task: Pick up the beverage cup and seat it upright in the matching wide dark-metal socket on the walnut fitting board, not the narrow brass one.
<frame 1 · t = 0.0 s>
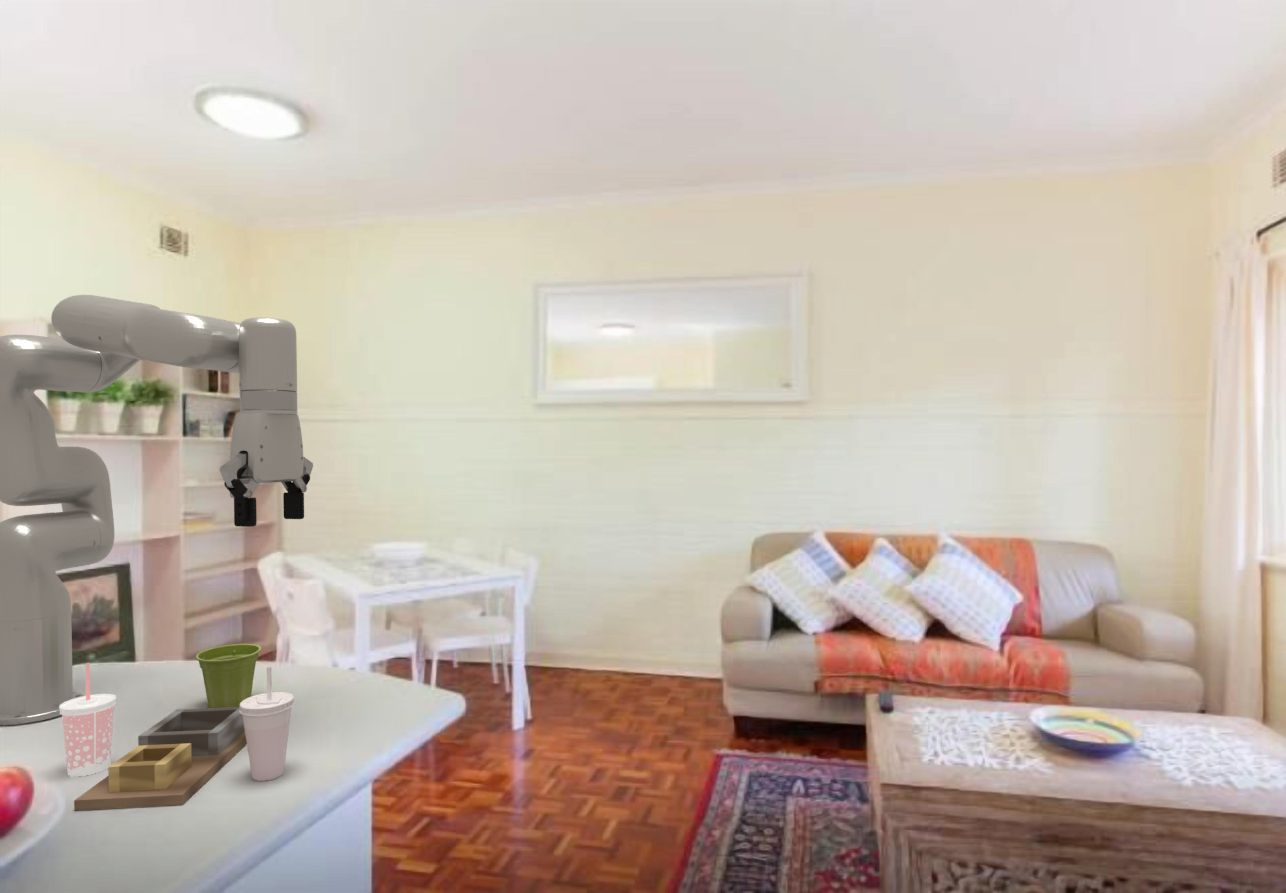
hand: (270, 522, 110), 31 cm above the table, tool pointing down, fingers open, 9 cm apart
plant pot: (229, 705, 125), on the table
beverage cup: (89, 770, 100), on the table
fitting board: (176, 767, 100), on the table
smoothie: (268, 775, 98), on the table
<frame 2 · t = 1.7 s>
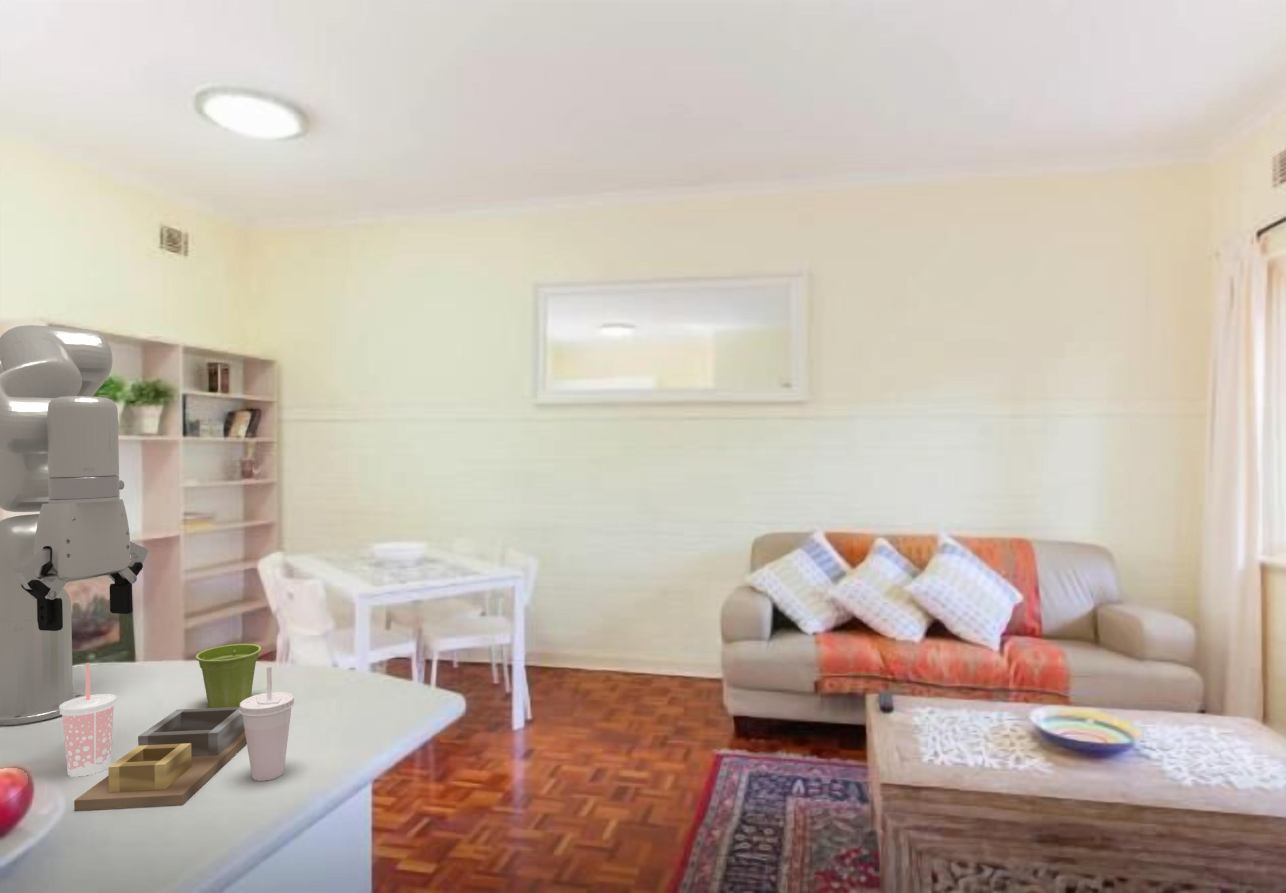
hand: (87, 621, 100), 20 cm above the table, tool pointing down, fingers open, 9 cm apart
nothing on the table moved.
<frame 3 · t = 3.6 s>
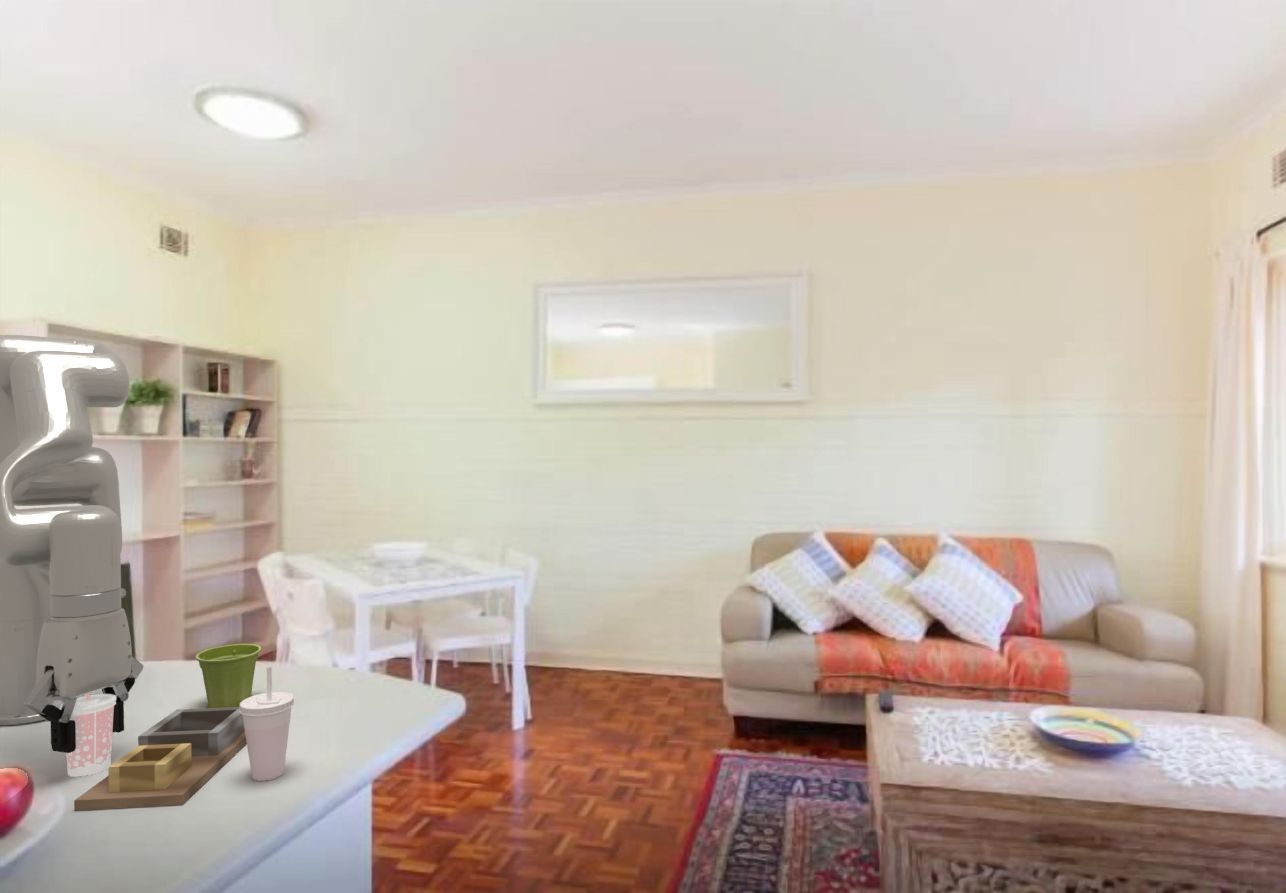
hand: (89, 739, 100), 4 cm above the table, tool pointing down, fingers closed on beverage cup, 6 cm apart
beverage cup: (89, 770, 100), on the table, touching gripper
everything else where it was.
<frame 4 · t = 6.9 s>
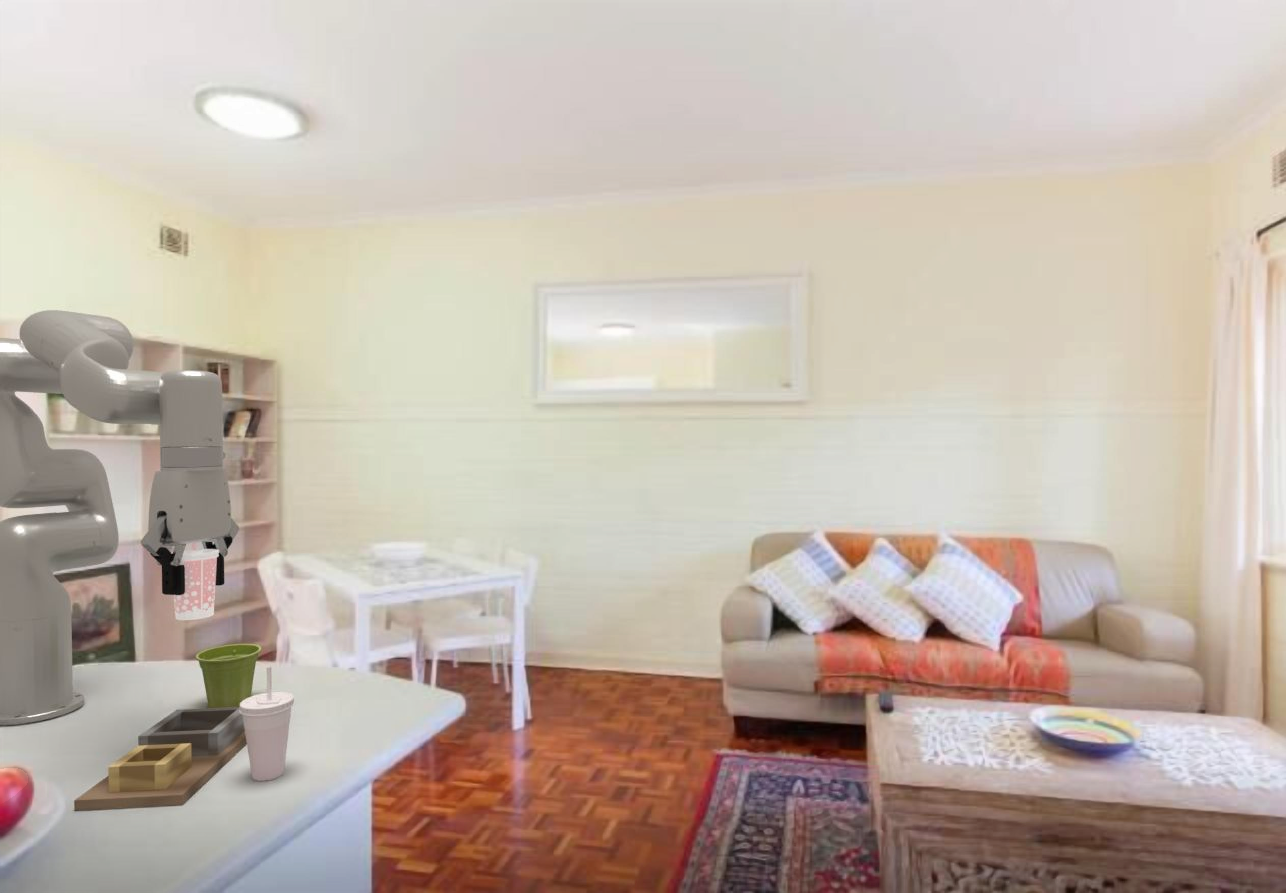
hand: (194, 588, 106), 23 cm above the table, tool pointing down, fingers closed on beverage cup, 6 cm apart
beverage cup: (194, 617, 106), point 19 cm above the table, touching gripper
everything else where it was.
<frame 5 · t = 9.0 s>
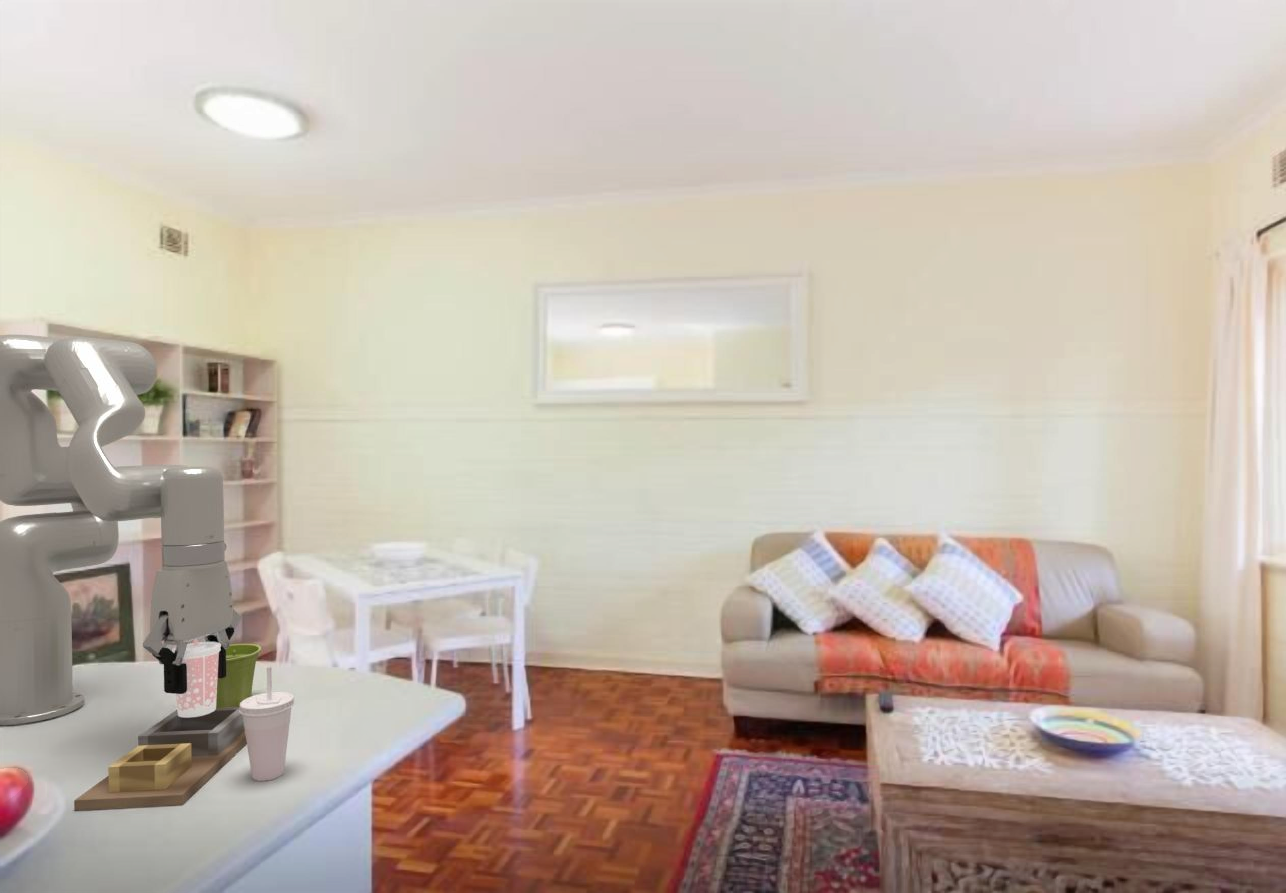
hand: (196, 683, 106), 9 cm above the table, tool pointing down, fingers closed on beverage cup, 6 cm apart
beverage cup: (197, 712, 106), point 5 cm above the table, touching gripper
everything else where it was.
when the fingers open (6 cm above the table, at t = 10.6 s): beverage cup drops 1 cm, resting on fitting board.
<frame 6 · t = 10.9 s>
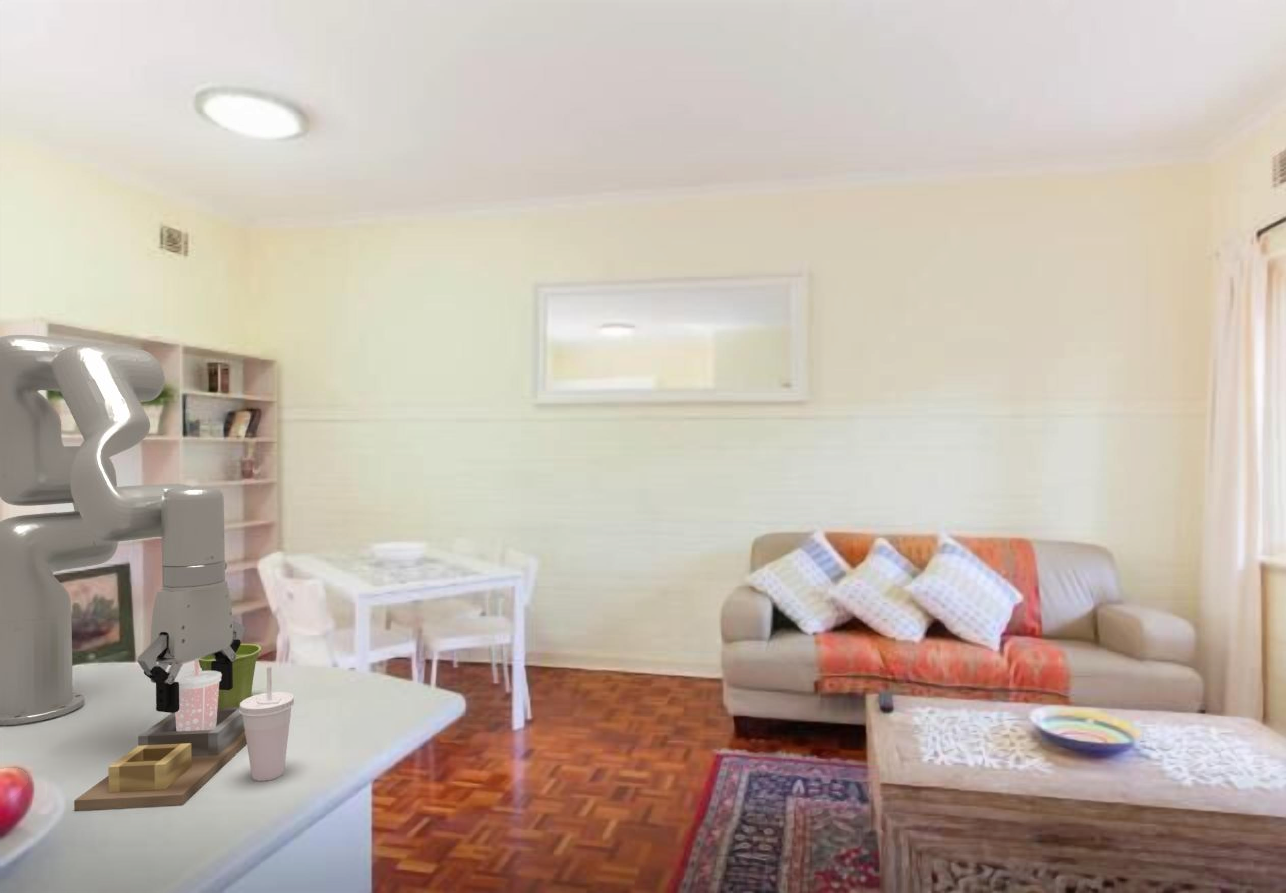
hand: (196, 699, 106), 7 cm above the table, tool pointing down, fingers open, 8 cm apart
beverage cup: (196, 742, 106), point 1 cm above the table, touching fitting board
everything else where it was.
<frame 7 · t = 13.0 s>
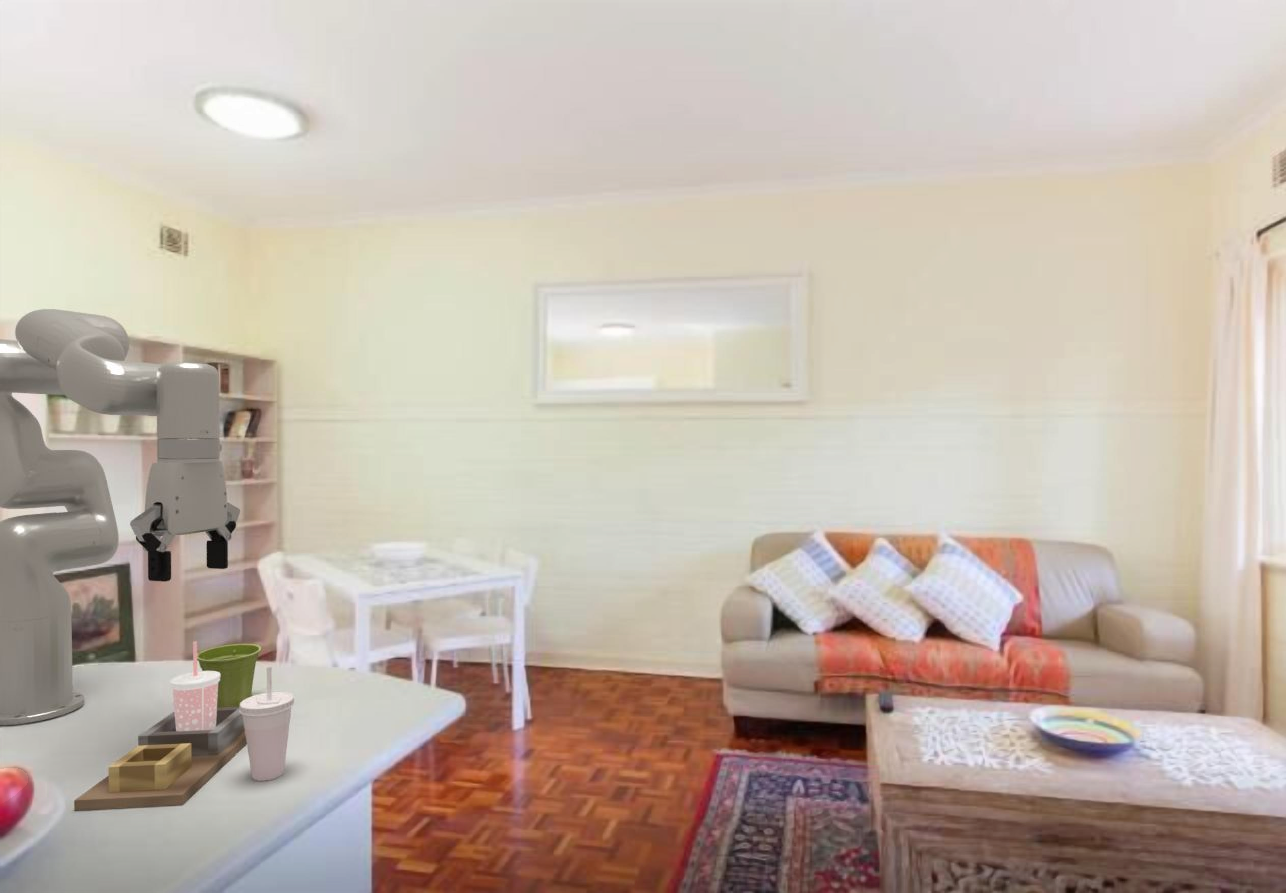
hand: (189, 574, 106), 25 cm above the table, tool pointing down, fingers open, 9 cm apart
nothing on the table moved.
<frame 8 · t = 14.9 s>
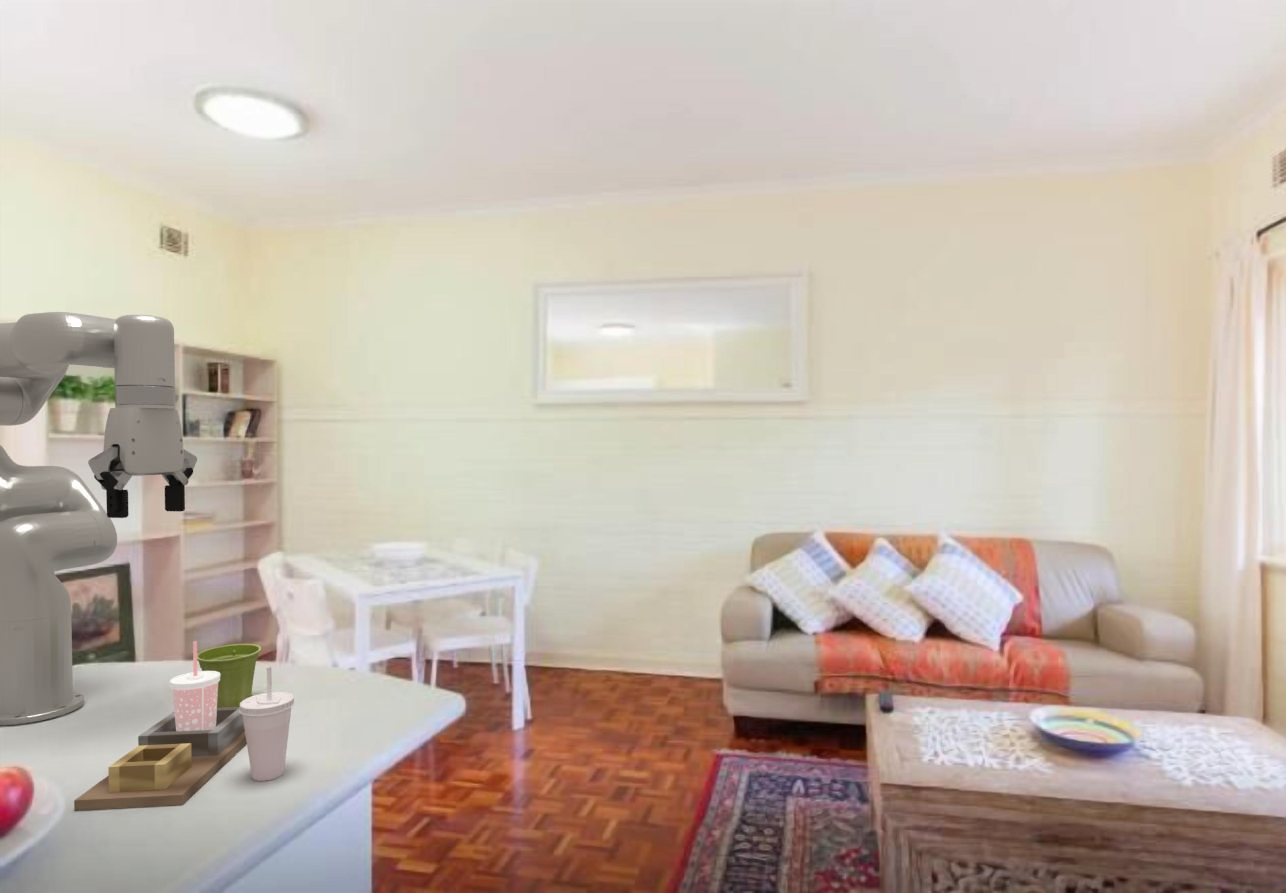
hand: (147, 514, 113), 32 cm above the table, tool pointing down, fingers open, 9 cm apart
nothing on the table moved.
at the end: beverage cup 0.4 cm from the target spot, point 1.0 cm above the table; beverage cup tilted 0°; the gripper is holding nothing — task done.
